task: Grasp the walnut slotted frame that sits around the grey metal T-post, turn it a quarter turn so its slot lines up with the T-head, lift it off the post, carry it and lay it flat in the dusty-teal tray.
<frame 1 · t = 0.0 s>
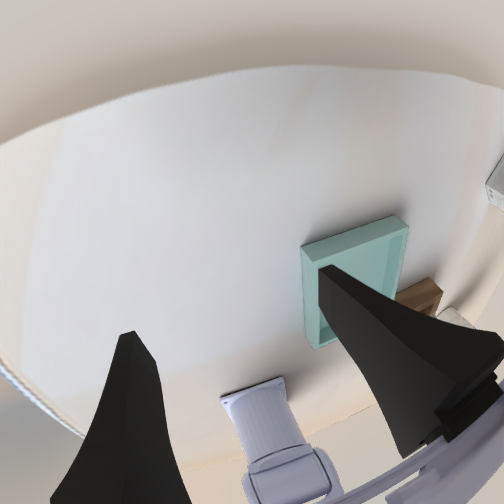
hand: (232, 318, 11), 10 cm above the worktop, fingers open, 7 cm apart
white cup: (439, 321, 44), on the worktop
tray: (348, 280, 28), on the worktop
frame ring: (402, 304, 35), on the worktop
skincare box: (496, 176, 29), on the worktop
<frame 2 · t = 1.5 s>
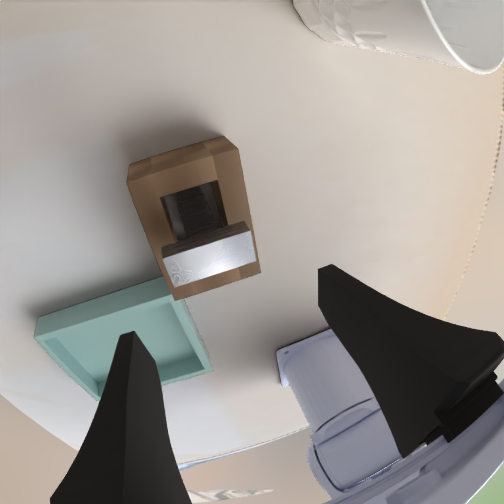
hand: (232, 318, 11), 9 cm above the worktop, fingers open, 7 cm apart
t post: (193, 209, 18), on the worktop
white cup: (337, 0, 13), on the worktop
tray: (125, 338, 23), on the worktop
frame ring: (193, 209, 18), on the worktop
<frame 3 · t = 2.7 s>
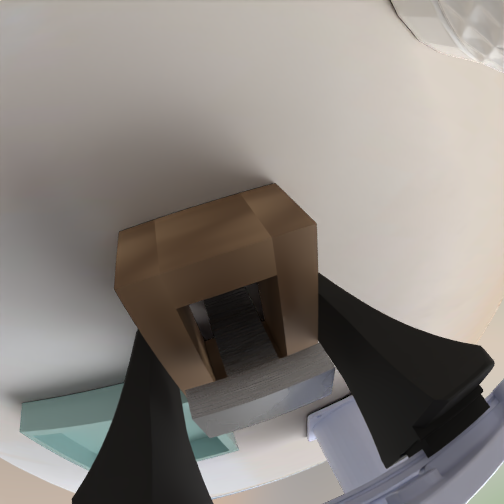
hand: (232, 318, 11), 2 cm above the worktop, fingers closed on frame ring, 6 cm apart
t post: (222, 291, 12), on the worktop
tray: (132, 423, 16), on the worktop
frame ring: (222, 291, 12), on the worktop, touching gripper
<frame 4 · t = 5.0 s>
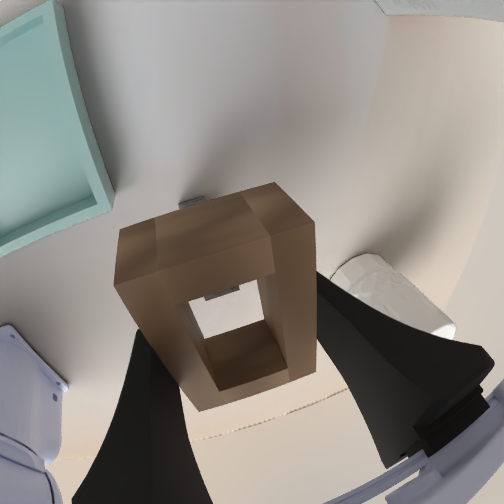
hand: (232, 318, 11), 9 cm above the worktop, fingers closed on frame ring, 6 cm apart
t post: (194, 211, 18), on the worktop
white cup: (353, 281, 27), on the worktop
tray: (11, 136, 12), on the worktop
frame ring: (221, 289, 12), point 7 cm above the worktop, touching gripper
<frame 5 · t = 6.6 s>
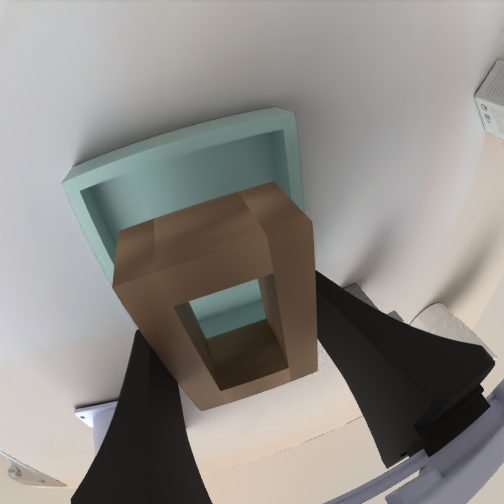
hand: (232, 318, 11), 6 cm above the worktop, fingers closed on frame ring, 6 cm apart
t post: (346, 294, 22), on the worktop
white cup: (421, 322, 31), on the worktop
tray: (202, 238, 16), on the worktop
frame ring: (222, 289, 13), point 4 cm above the worktop, touching gripper
skincare box: (490, 93, 16), on the worktop
when the fingers open (3 cm above the worktop, at t = 7.6 s): frame ring drops 1 cm, resting on tray.
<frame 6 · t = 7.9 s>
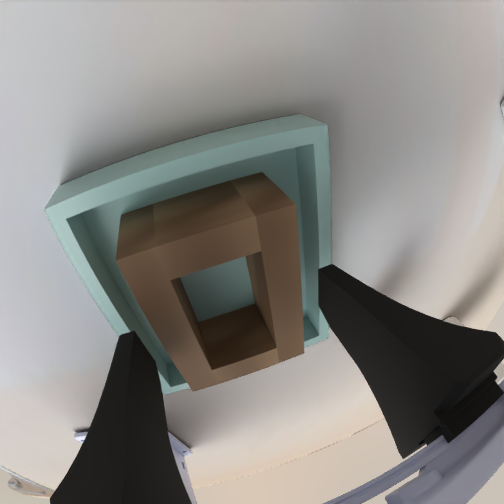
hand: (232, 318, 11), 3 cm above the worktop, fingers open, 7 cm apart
tray: (212, 265, 14), on the worktop
frame ring: (214, 272, 13), resting on tray
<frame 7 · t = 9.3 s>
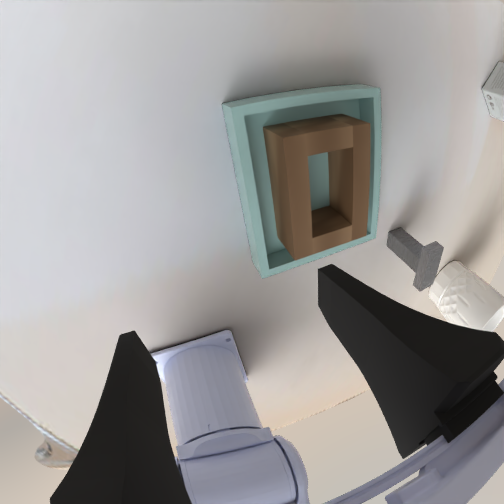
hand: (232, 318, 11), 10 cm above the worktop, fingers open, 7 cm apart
t post: (393, 236, 27), on the worktop
white cup: (443, 279, 36), on the worktop
tray: (306, 173, 20), on the worktop
frame ring: (309, 176, 20), resting on tray
skincare box: (493, 87, 21), on the worktop
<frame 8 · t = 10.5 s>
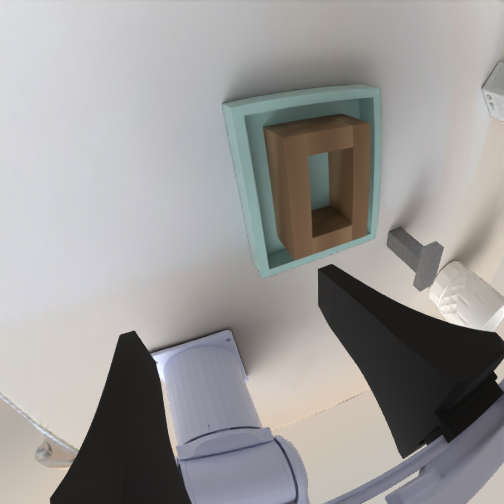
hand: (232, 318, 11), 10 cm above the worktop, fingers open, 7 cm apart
t post: (393, 236, 27), on the worktop
white cup: (443, 279, 36), on the worktop
tray: (306, 173, 20), on the worktop
frame ring: (309, 176, 20), resting on tray
skincare box: (493, 87, 21), on the worktop
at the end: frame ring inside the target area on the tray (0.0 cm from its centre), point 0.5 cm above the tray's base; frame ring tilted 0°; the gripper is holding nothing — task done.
